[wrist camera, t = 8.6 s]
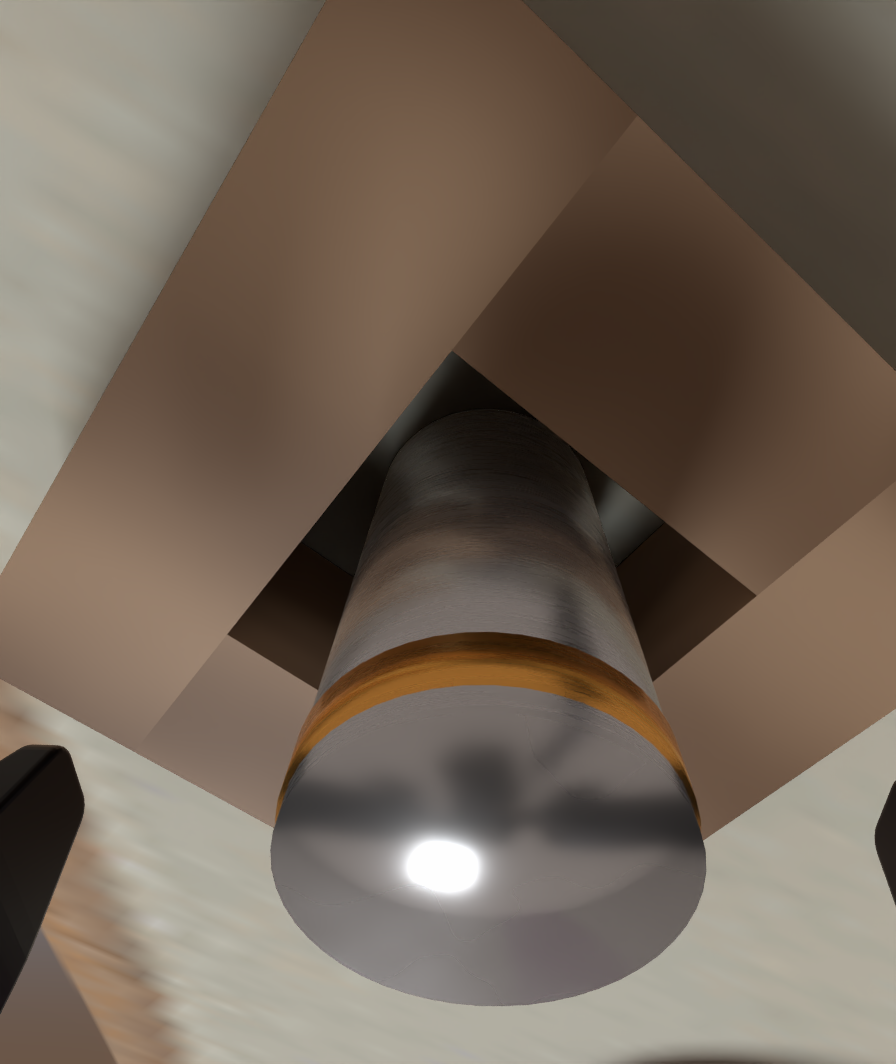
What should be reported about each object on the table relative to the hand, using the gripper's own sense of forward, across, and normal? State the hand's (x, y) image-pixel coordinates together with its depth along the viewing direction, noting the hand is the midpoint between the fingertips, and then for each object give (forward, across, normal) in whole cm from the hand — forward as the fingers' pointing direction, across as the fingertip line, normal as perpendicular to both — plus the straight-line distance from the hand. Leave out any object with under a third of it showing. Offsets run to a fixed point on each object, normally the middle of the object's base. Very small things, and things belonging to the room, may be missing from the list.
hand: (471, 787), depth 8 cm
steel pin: (+7, 0, 0) cm, 7 cm away
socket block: (+7, 0, 0) cm, 7 cm away
